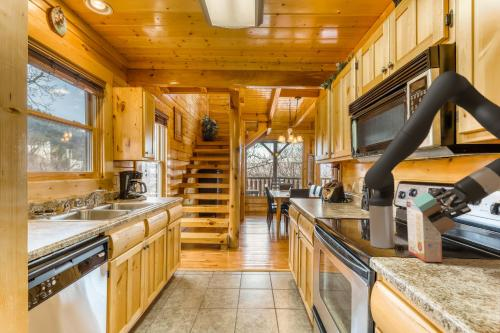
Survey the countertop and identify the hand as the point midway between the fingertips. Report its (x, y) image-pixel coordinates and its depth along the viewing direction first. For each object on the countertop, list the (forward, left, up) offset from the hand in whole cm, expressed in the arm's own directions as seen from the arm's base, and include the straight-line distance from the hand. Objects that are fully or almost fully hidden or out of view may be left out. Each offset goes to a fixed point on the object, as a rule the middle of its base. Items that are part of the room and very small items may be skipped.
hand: (425, 215), depth 84 cm
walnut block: (0, +6, -3) cm, 7 cm away
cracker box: (-12, +6, -17) cm, 22 cm away
